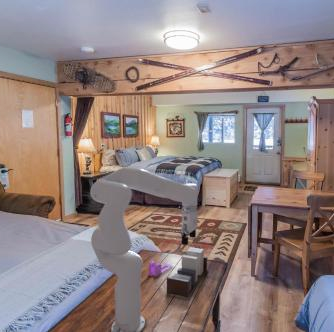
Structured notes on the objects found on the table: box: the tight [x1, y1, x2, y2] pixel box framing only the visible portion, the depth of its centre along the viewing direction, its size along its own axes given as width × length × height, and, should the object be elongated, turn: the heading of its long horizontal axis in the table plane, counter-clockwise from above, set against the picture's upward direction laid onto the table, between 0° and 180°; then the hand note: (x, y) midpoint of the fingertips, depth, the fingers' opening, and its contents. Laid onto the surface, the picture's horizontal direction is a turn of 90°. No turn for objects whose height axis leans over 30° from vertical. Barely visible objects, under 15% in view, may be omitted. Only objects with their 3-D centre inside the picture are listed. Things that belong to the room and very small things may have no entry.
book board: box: [166, 255, 208, 298], centre depth 140 cm, size 26×11×9 cm, turn 166°
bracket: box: [148, 260, 172, 277], centre depth 151 cm, size 13×6×7 cm, turn 150°
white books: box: [186, 246, 205, 275], centre depth 148 cm, size 4×8×13 cm, turn 76°
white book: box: [181, 254, 198, 283], centre depth 140 cm, size 2×8×13 cm, turn 76°
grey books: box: [171, 267, 196, 291], centre depth 134 cm, size 10×9×7 cm
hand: (188, 240), depth 138 cm, fingers open, 9 cm apart
